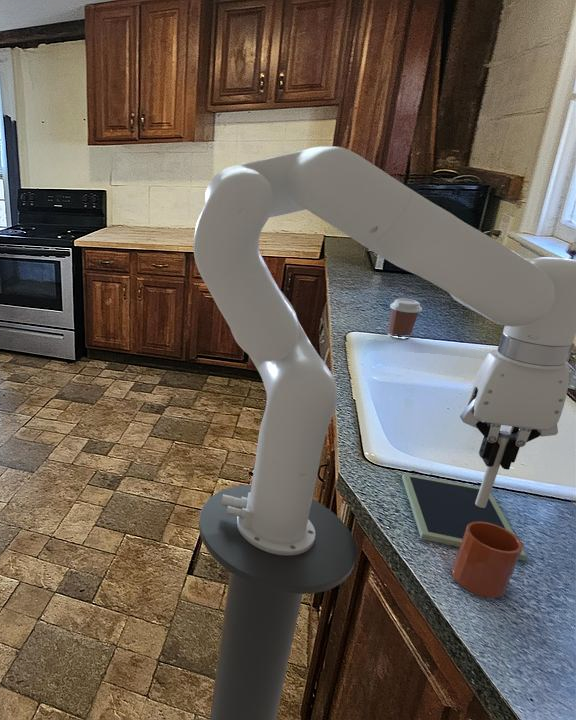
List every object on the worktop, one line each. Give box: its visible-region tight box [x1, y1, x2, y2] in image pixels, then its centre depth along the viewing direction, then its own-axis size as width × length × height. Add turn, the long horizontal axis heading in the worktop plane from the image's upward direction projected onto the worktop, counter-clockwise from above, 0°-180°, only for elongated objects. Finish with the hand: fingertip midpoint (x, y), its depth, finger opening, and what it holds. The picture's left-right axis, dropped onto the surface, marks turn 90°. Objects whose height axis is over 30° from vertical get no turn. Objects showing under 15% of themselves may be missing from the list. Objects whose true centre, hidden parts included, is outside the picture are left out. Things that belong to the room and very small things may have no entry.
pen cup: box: [451, 521, 524, 599], centre depth 75 cm, size 6×6×8 cm
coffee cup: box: [387, 298, 423, 337], centre depth 172 cm, size 9×9×12 cm
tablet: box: [401, 472, 528, 562], centre depth 90 cm, size 14×18×1 cm
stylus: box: [475, 429, 510, 508], centre depth 80 cm, size 1×1×13 cm
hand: (494, 462), depth 79 cm, fingers closed on stylus, 1 cm apart
